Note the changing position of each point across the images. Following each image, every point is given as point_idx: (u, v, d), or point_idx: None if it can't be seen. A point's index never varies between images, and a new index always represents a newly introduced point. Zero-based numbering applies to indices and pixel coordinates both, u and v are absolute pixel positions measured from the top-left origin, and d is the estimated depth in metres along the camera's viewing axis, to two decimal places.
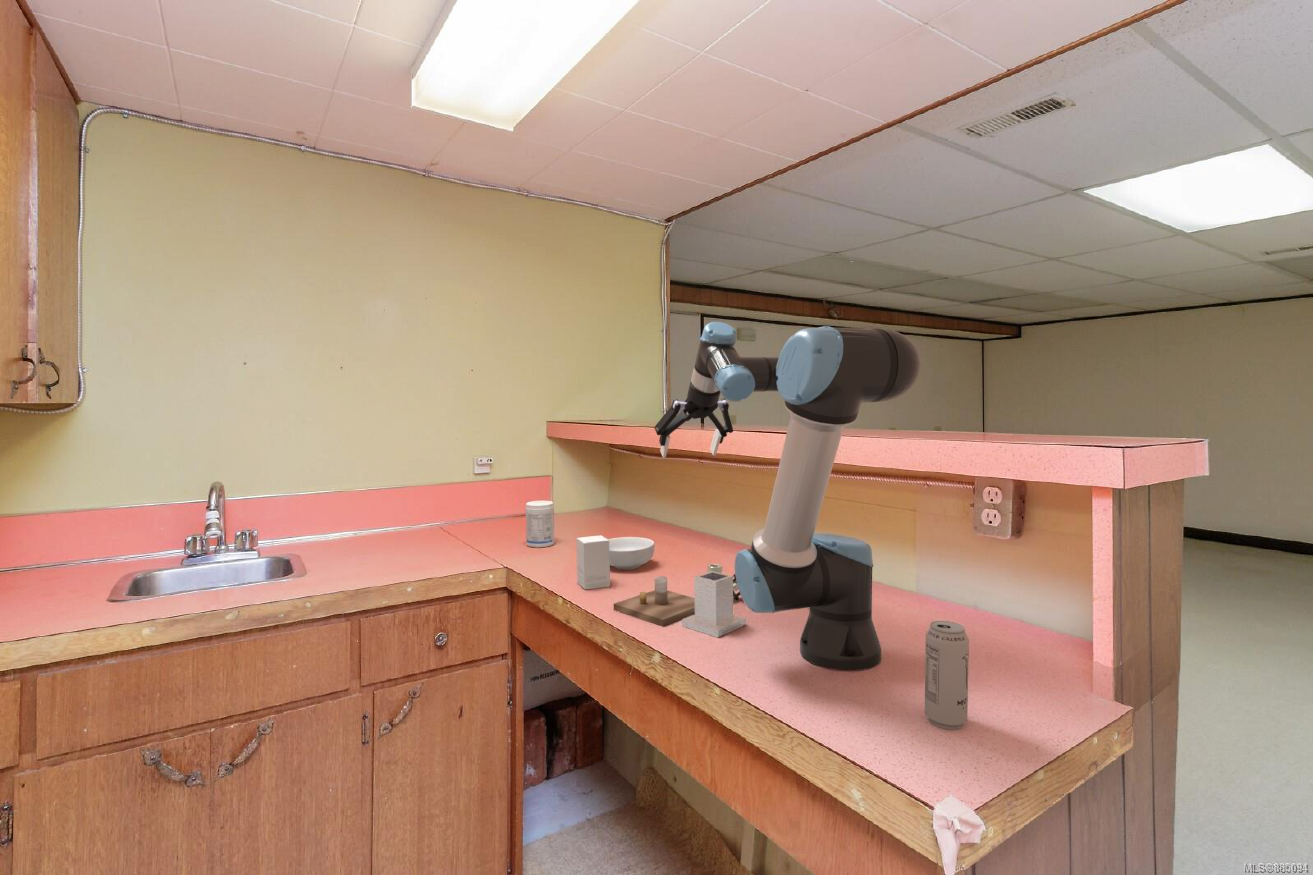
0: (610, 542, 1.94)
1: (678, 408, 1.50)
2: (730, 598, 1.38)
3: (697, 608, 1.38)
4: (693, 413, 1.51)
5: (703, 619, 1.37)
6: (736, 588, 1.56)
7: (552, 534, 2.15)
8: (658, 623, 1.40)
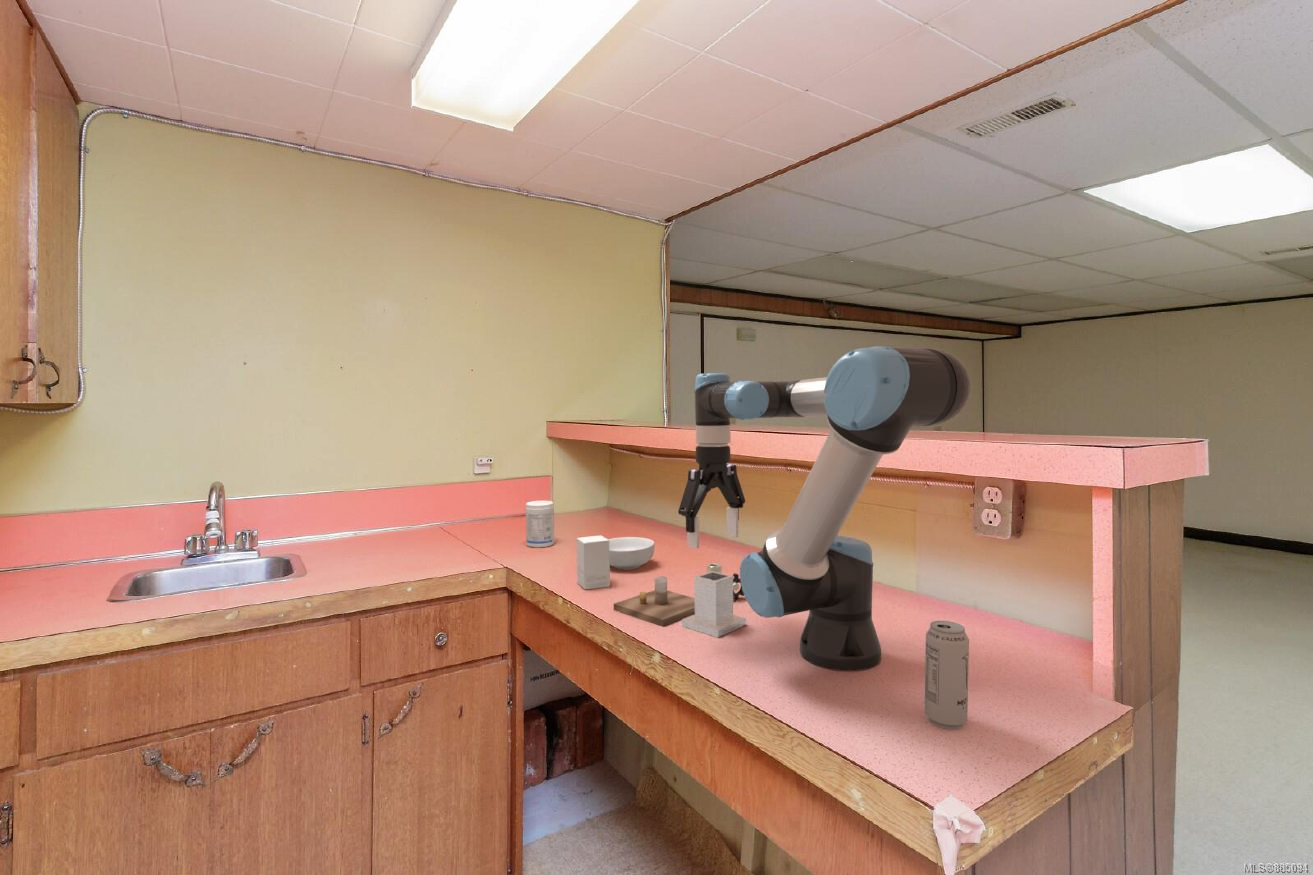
0: (610, 542, 1.94)
1: (699, 475, 1.32)
2: (730, 598, 1.38)
3: (697, 608, 1.38)
4: (713, 478, 1.34)
5: (703, 619, 1.37)
6: (736, 587, 1.56)
7: (552, 534, 2.15)
8: (658, 623, 1.40)
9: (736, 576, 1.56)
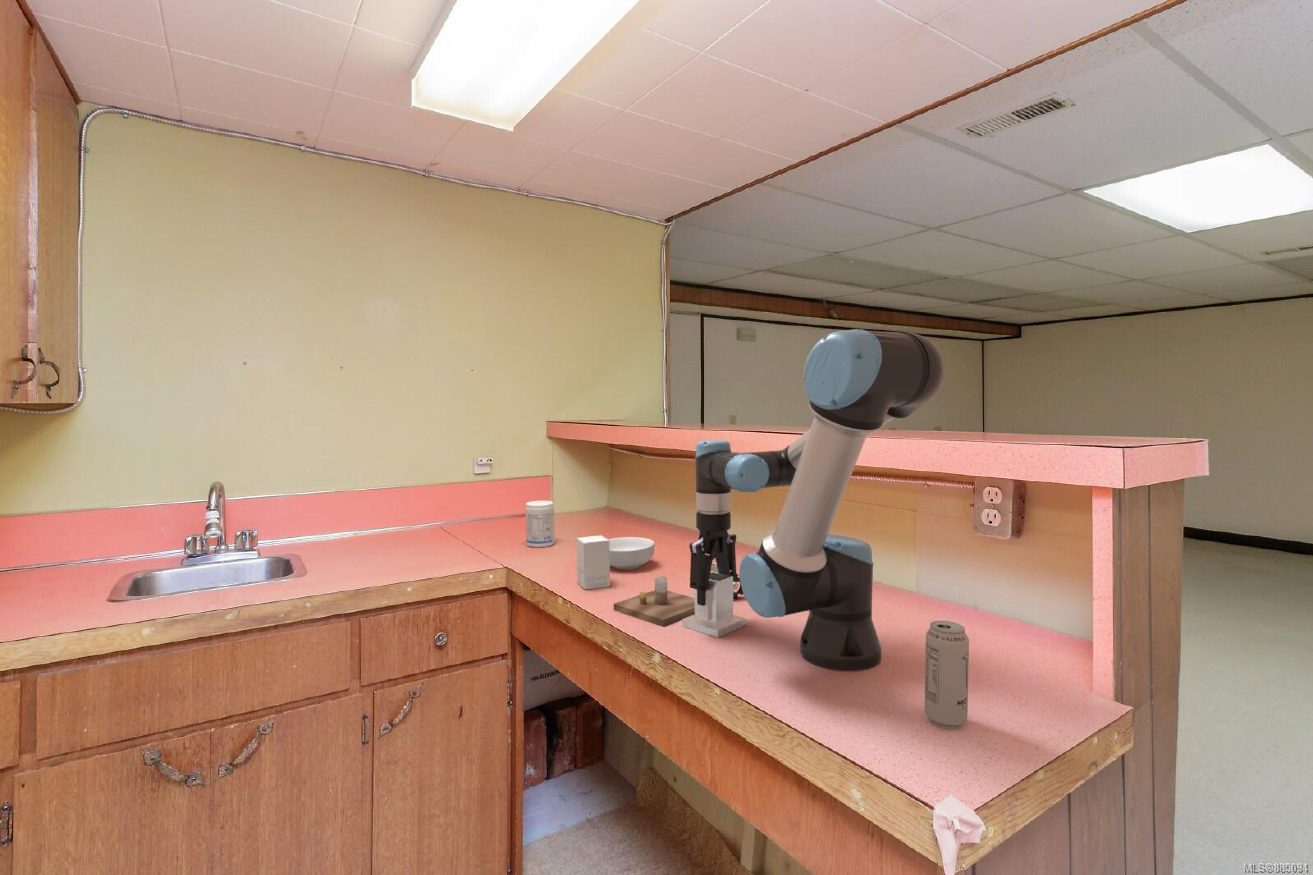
0: (610, 542, 1.94)
1: (700, 548, 1.33)
2: (730, 598, 1.38)
3: (697, 608, 1.38)
4: (714, 547, 1.35)
5: None
6: (735, 587, 1.57)
7: (552, 534, 2.15)
8: (658, 623, 1.40)
9: None
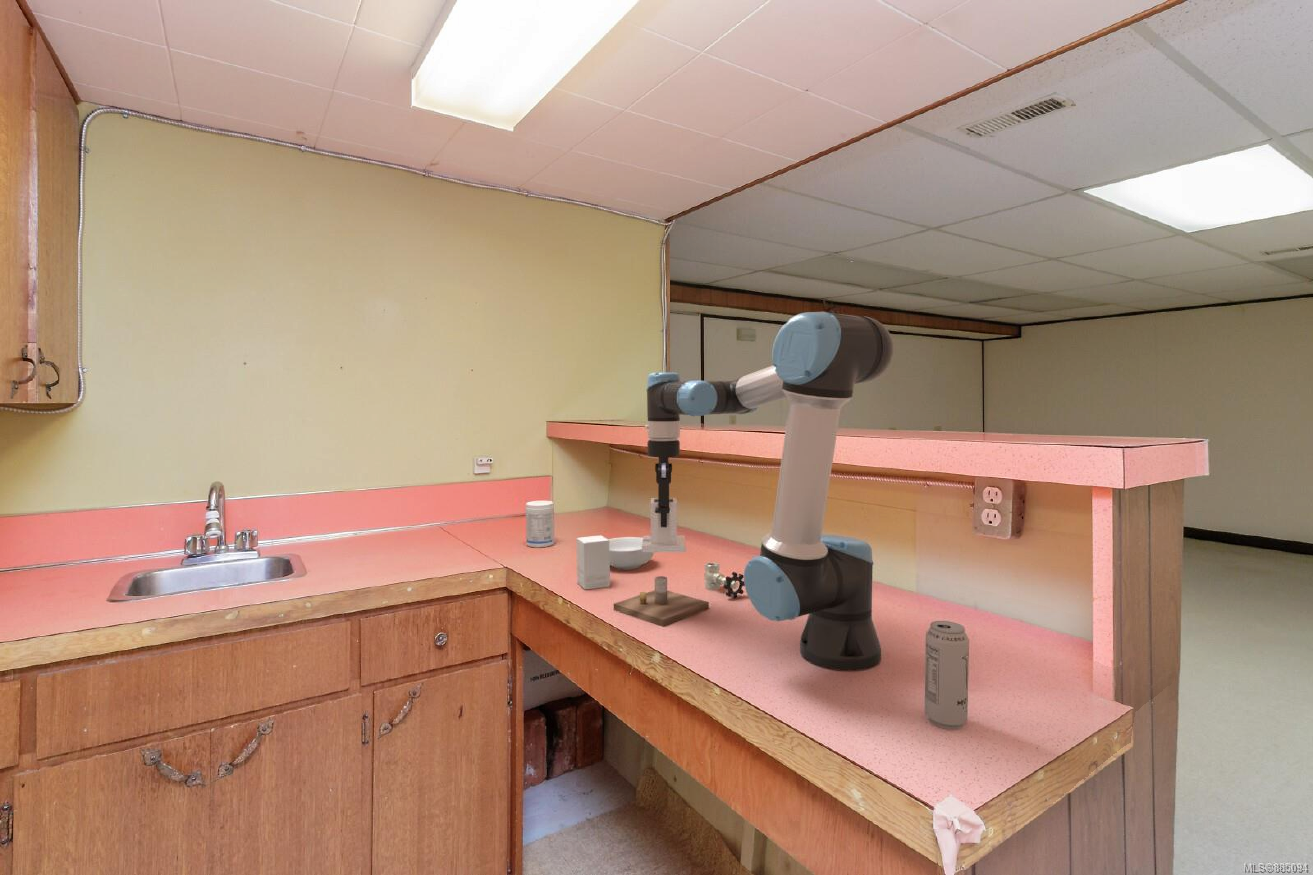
0: (610, 542, 1.94)
1: (669, 472, 1.42)
2: None
3: (654, 532, 1.46)
4: (671, 471, 1.46)
5: (662, 541, 1.46)
6: (735, 586, 1.58)
7: (552, 534, 2.15)
8: (658, 623, 1.40)
9: (735, 574, 1.57)
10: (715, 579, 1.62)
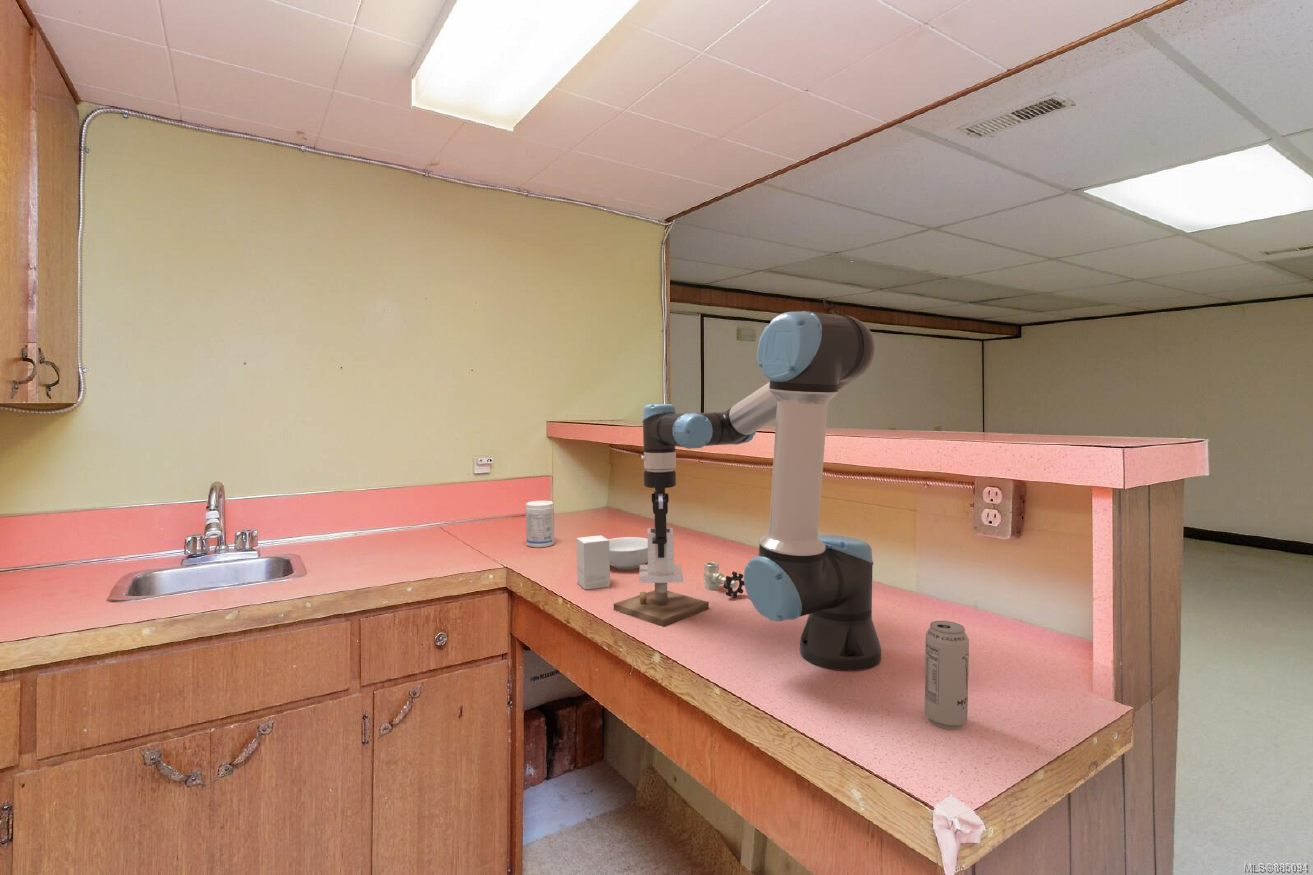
0: (610, 542, 1.94)
1: (666, 503, 1.43)
2: None
3: (651, 562, 1.47)
4: (667, 502, 1.47)
5: (659, 571, 1.47)
6: (735, 585, 1.58)
7: (552, 534, 2.15)
8: (658, 623, 1.40)
9: (735, 574, 1.58)
10: (715, 579, 1.63)
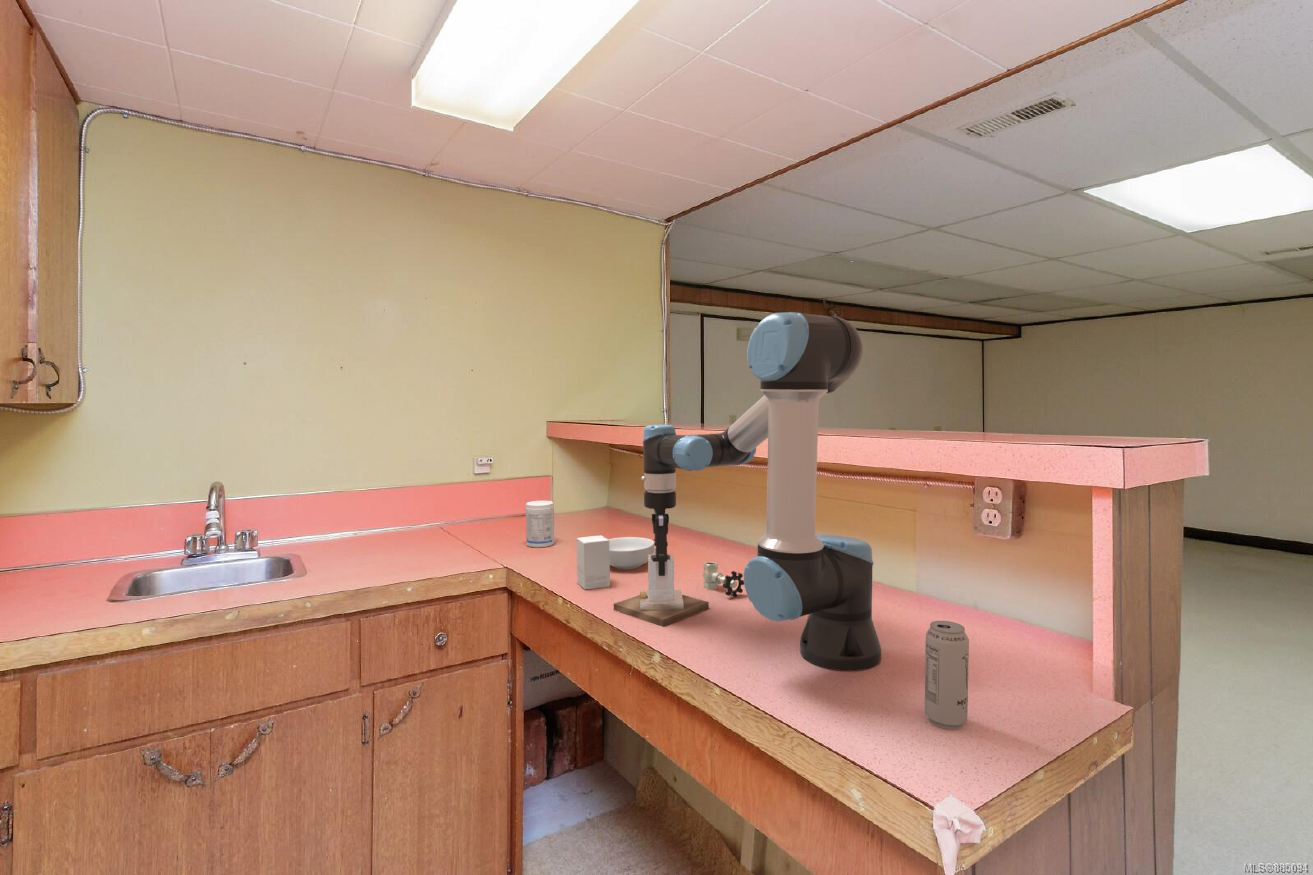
0: (610, 542, 1.94)
1: (666, 521, 1.43)
2: None
3: (652, 590, 1.47)
4: (668, 522, 1.47)
5: (659, 598, 1.47)
6: (734, 585, 1.58)
7: (552, 534, 2.15)
8: (658, 623, 1.40)
9: (734, 573, 1.58)
10: (714, 578, 1.63)
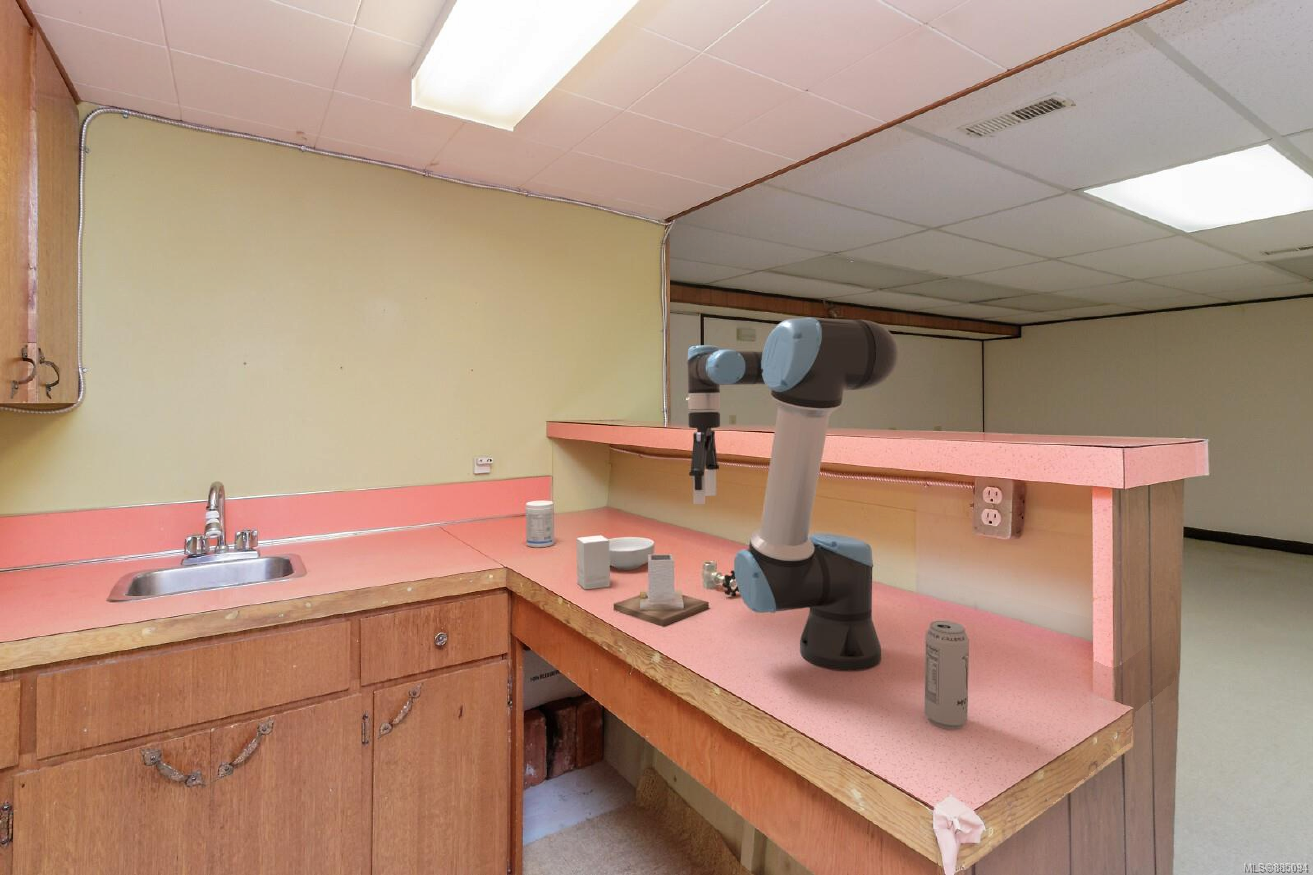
0: (610, 542, 1.94)
1: (704, 437, 1.45)
2: None
3: (652, 590, 1.47)
4: (710, 441, 1.48)
5: (659, 598, 1.47)
6: (733, 584, 1.59)
7: (552, 534, 2.15)
8: (658, 623, 1.40)
9: (734, 573, 1.59)
10: (713, 578, 1.64)
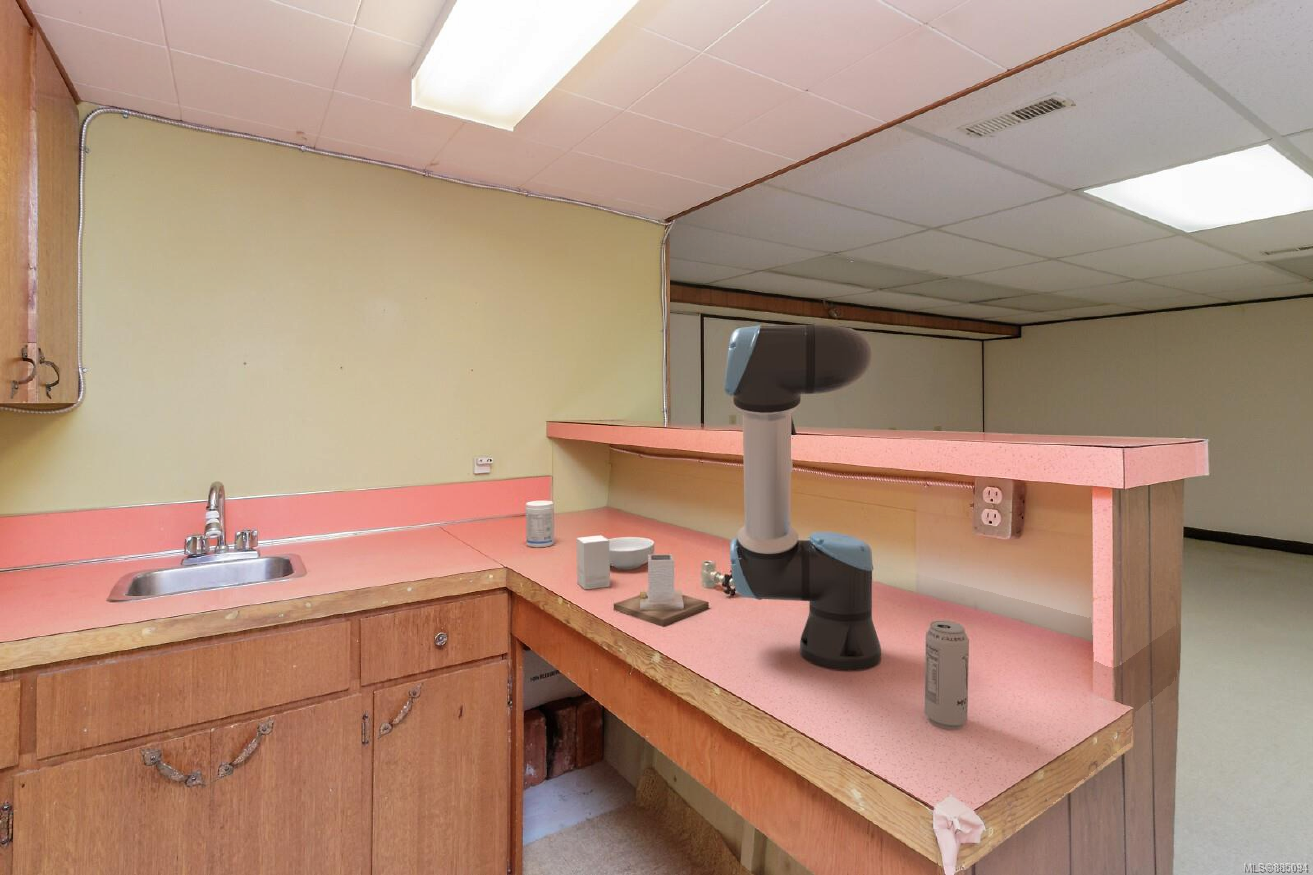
0: (610, 542, 1.94)
1: None
2: None
3: (652, 590, 1.47)
4: None
5: (659, 598, 1.47)
6: (733, 583, 1.60)
7: (552, 534, 2.15)
8: (658, 623, 1.40)
9: None
10: (712, 577, 1.64)
